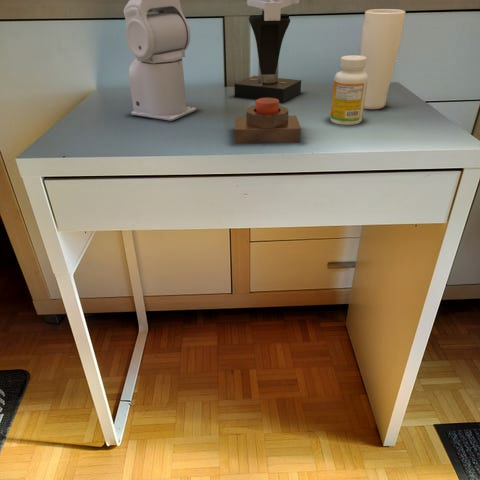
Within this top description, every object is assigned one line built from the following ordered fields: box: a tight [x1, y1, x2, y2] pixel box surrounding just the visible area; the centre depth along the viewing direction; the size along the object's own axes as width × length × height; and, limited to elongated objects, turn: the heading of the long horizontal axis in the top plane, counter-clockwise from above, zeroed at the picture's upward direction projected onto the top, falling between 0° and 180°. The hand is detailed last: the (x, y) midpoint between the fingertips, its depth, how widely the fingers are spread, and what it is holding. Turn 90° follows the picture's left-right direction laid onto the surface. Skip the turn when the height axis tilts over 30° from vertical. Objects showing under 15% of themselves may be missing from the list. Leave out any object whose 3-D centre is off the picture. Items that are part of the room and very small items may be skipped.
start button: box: [255, 98, 280, 114], centre depth 70 cm, size 4×4×2 cm
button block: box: [234, 104, 302, 145], centre depth 72 cm, size 10×7×4 cm
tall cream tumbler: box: [359, 8, 406, 110], centre depth 81 cm, size 7×7×15 cm
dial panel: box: [234, 75, 302, 104], centre depth 93 cm, size 11×8×3 cm
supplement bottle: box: [330, 54, 368, 126], centre depth 76 cm, size 5×5×10 cm
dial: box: [257, 61, 280, 84], centre depth 91 cm, size 4×4×4 cm
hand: (268, 73), depth 67 cm, fingers closed
